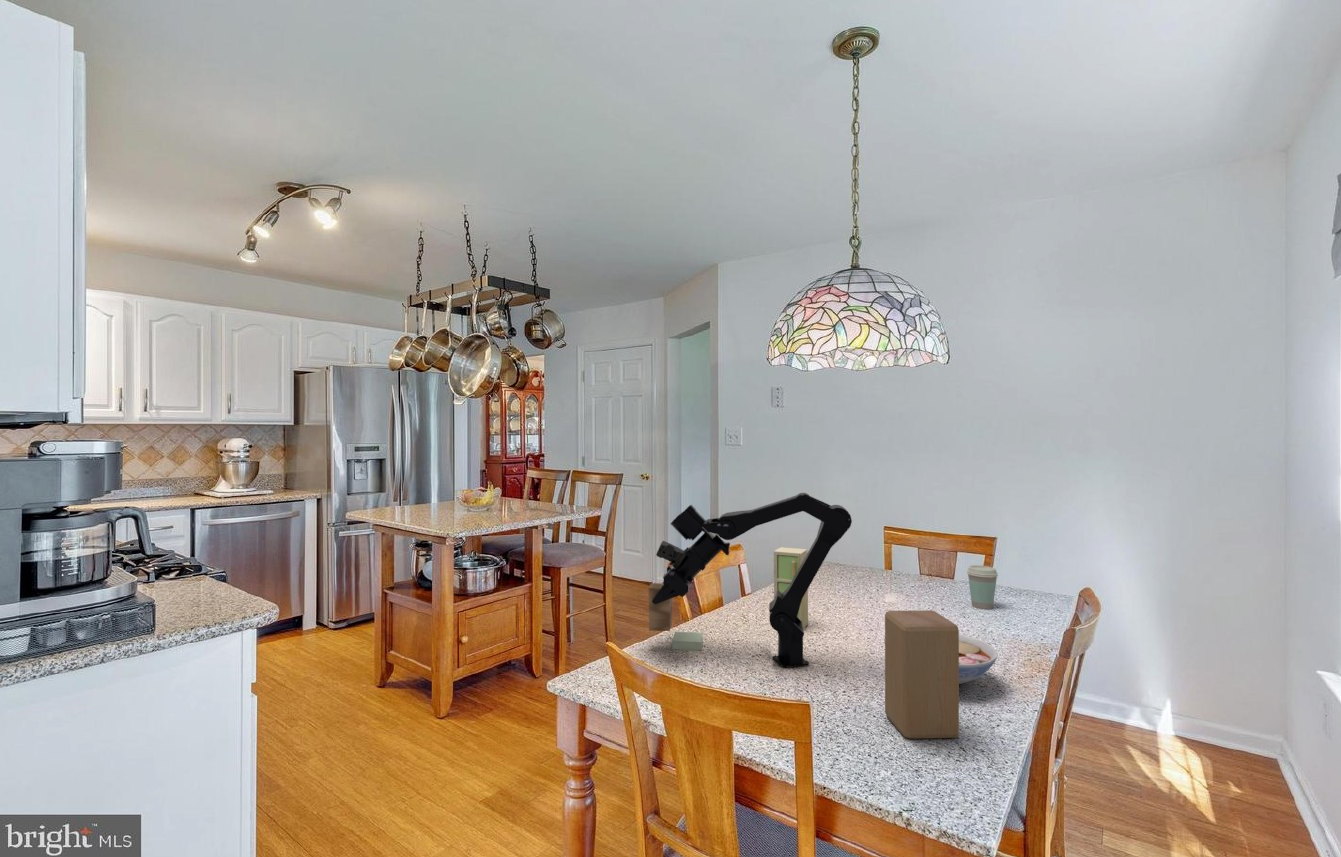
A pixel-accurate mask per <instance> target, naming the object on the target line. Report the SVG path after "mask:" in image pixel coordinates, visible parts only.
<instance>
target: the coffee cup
mask: <svg viewBox="0 0 1341 857" xmlns="http://www.w3.org/2000/svg"><path fill="white" fill-rule="evenodd" d="M966 572H967V575H968V576H967V577H968V584H969V593H970V602H971V607H973V608H976V609H980V610H992V609H993V608H994V603H995V596H996V594H995V593H996V586H997V578H998V576H999V575H998V572H997V568H995V567H992V566H988V565H978V564H977V565H969V566H968V569H967V570H966Z"/></svg>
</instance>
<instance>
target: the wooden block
mask: <svg viewBox="0 0 1341 857" xmlns="http://www.w3.org/2000/svg"><path fill="white" fill-rule="evenodd" d="M959 634H960V630H959V627H958V625H957V624H955V622H953V621H951V620H949V619H947V618H946V617H944V616H943V615H941V614H940V613H939V612H937V611H935V610H928V609H925V610H888V611H886V612H885V614H884V639H885V643H884V714H885V715H886V717H887V719H889V721H890V722H891V723H892V724H893V725H894V726H895V727H896V729H897V730H898V731H899V732H900V734H902V736H903V738H906V739H950V738H951V739H956V738H958V737H959V735H960V686H959V685H960V684H959Z"/></svg>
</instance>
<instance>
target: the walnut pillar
mask: <svg viewBox="0 0 1341 857" xmlns="http://www.w3.org/2000/svg"><path fill="white" fill-rule="evenodd" d="M663 584H664V583H663V582H659V583H658V582H655V583H654V582H652V583H649V586H648V631H650V632H653V631H654V632H671V630H672V629H671V628H672V625H673V619H672V618H673V616H672V615H673V614H672V613H673V611H672V610H673V609H672V602H673V601H672V600H673V598H671V599H668V600H666V601H663V602H660V603H658V604H654V603H653V602H652V600H653V599H654V597H655V596H656V594H657V593H658V592H659V590H660V589H661V587H662V586H663Z"/></svg>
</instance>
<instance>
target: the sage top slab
mask: <svg viewBox="0 0 1341 857" xmlns="http://www.w3.org/2000/svg"><path fill="white" fill-rule="evenodd" d="M672 639H673V641H672V640H671V643H672V649H671V650H682V651H683V650H685V651H702V650H703V648H702V647H703V640H704V637H703V632H695V631H694V632H690V631H674V634H673V638H672Z"/></svg>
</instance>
